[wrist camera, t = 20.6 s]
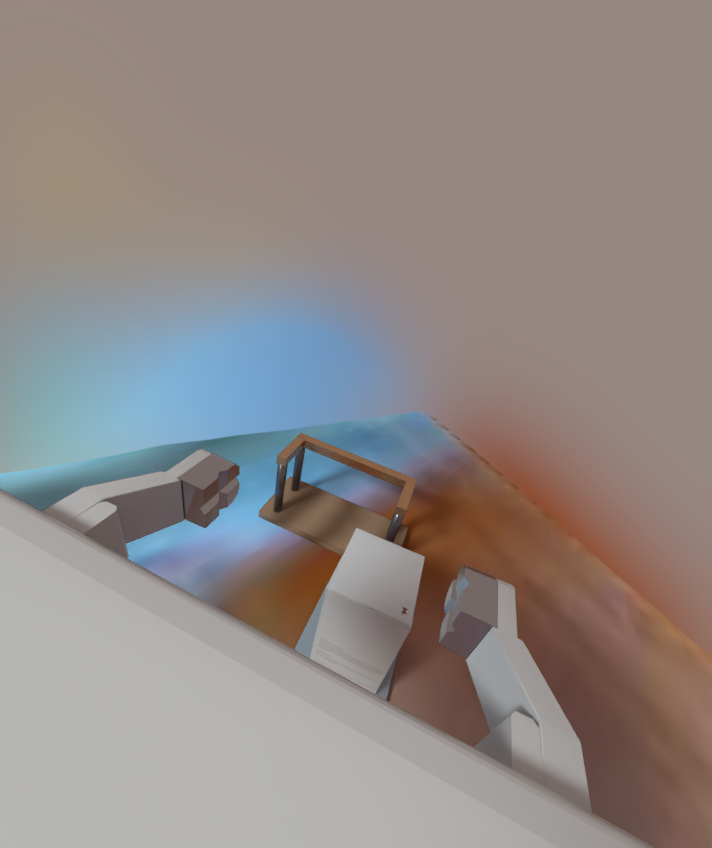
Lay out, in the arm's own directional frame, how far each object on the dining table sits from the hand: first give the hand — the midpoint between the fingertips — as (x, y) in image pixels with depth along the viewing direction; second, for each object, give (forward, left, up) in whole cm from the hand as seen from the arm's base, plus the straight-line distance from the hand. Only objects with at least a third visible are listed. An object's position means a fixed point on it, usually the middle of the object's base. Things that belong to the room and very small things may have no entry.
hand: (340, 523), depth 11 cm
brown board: (-6, +26, -30) cm, 40 cm away
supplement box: (+2, +12, -30) cm, 32 cm away
